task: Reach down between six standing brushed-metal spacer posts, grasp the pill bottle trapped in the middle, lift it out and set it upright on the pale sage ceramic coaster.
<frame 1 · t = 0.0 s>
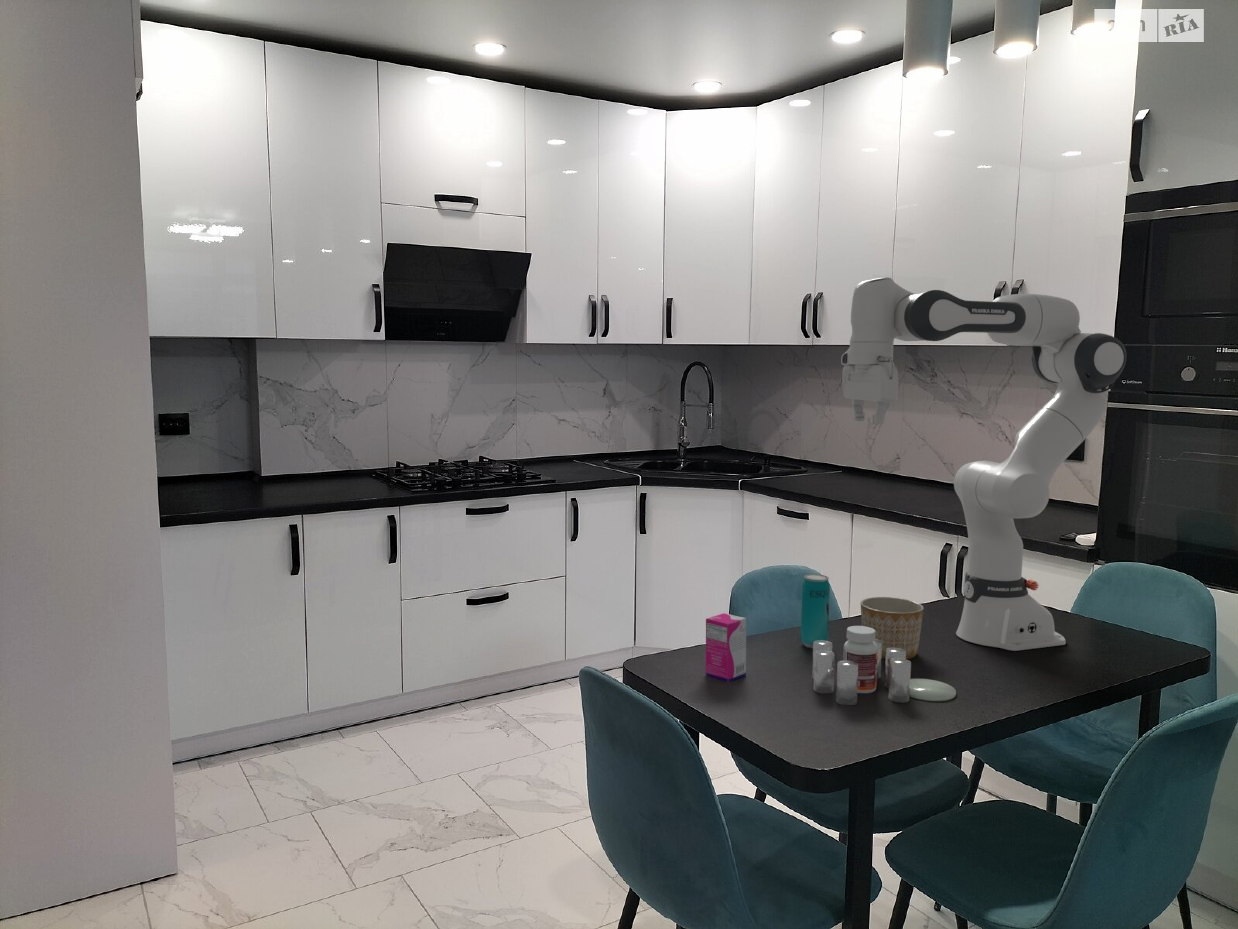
hand: (868, 422, 191), 48 cm above the table, fingers open, 8 cm apart
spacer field: (859, 688, 169), on the table
beverage can: (813, 646, 195), on the table
planter: (889, 654, 190), on the table
supplement box: (725, 676, 175), on the table
pill bottle: (859, 689, 169), on the table
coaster: (927, 691, 168), on the table
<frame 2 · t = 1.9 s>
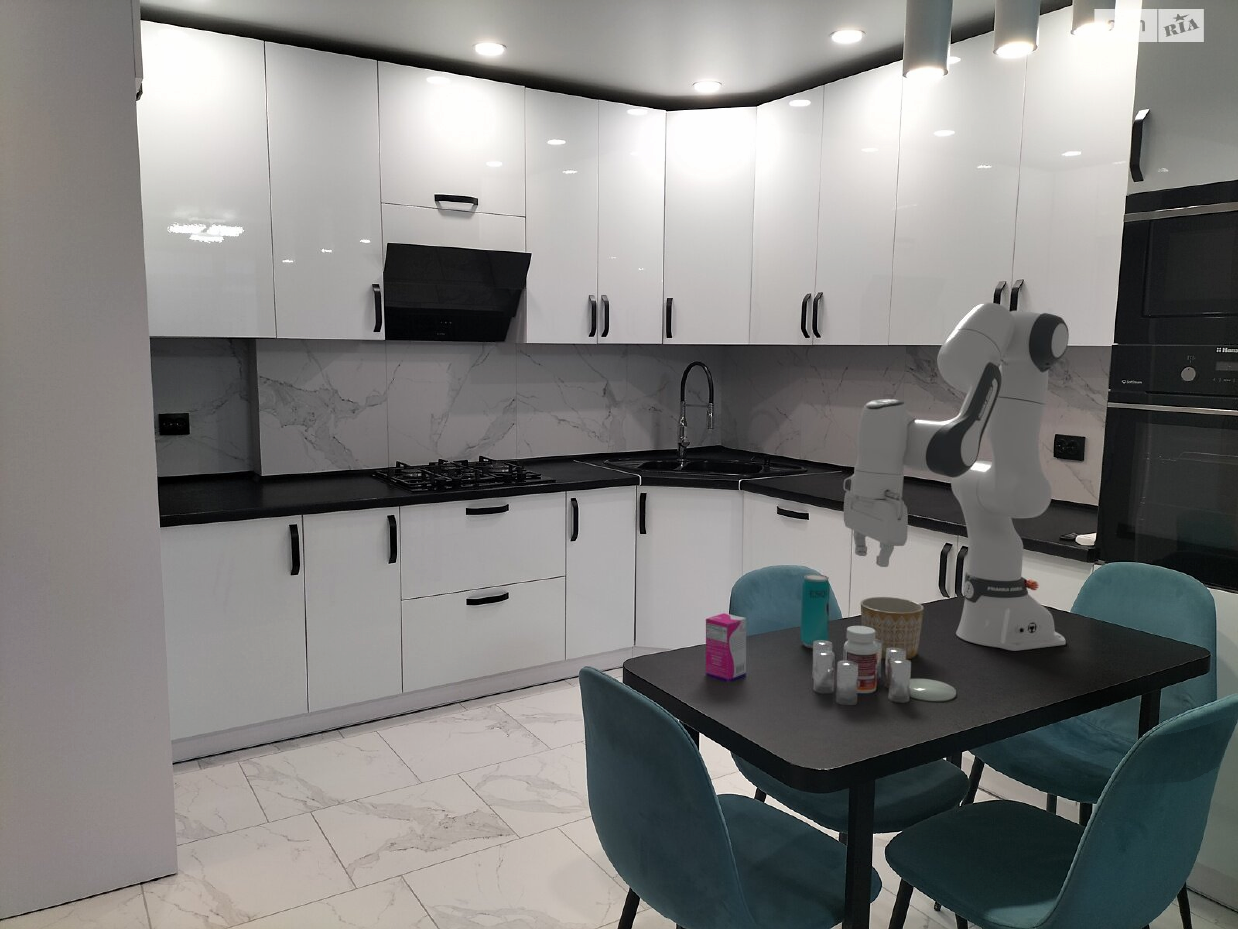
hand: (871, 560, 168), 24 cm above the table, fingers open, 8 cm apart
nothing on the table moved.
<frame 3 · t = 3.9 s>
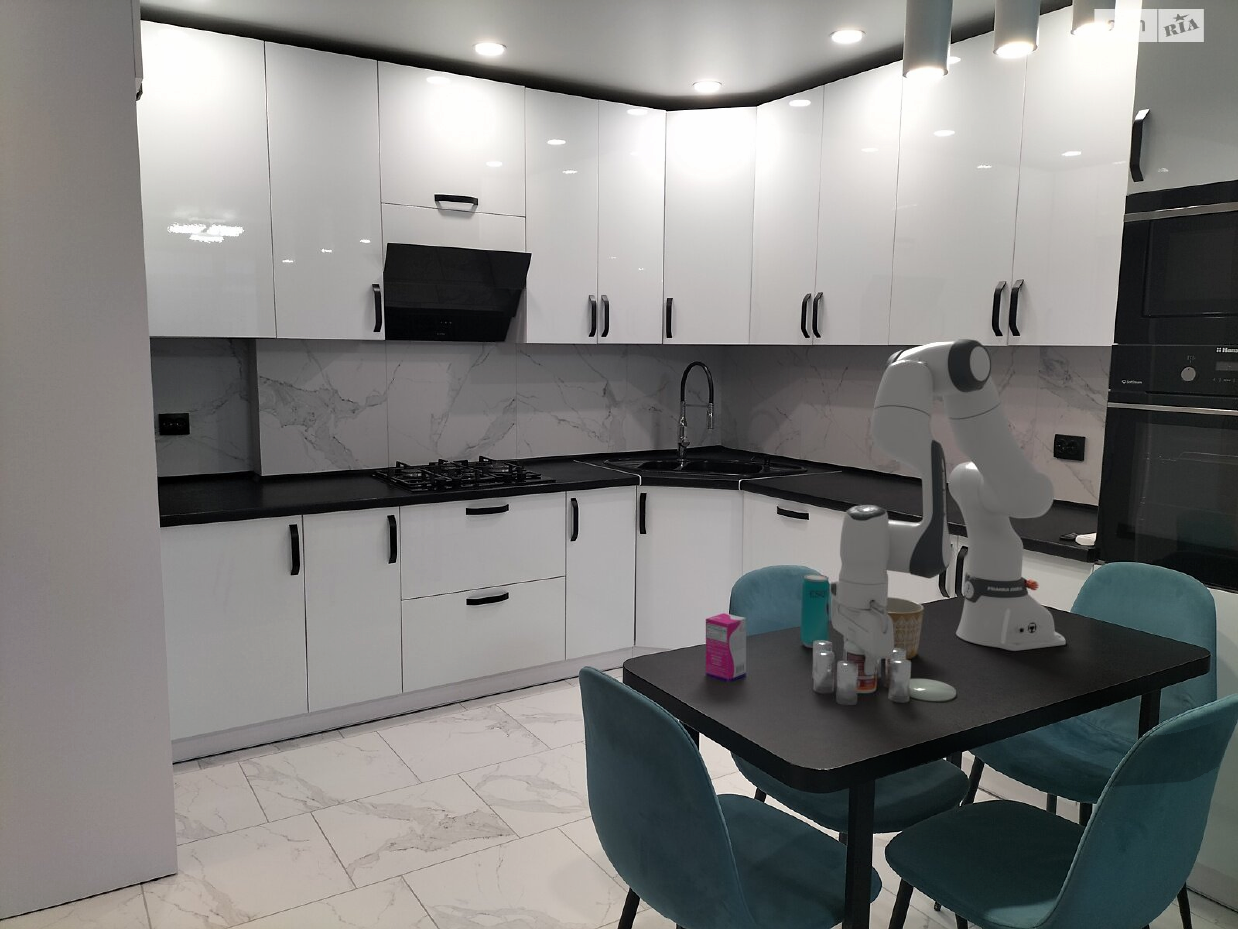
hand: (859, 666, 168), 4 cm above the table, fingers closed on pill bottle, 6 cm apart
pill bottle: (859, 689, 169), on the table, touching gripper
everything else where it was.
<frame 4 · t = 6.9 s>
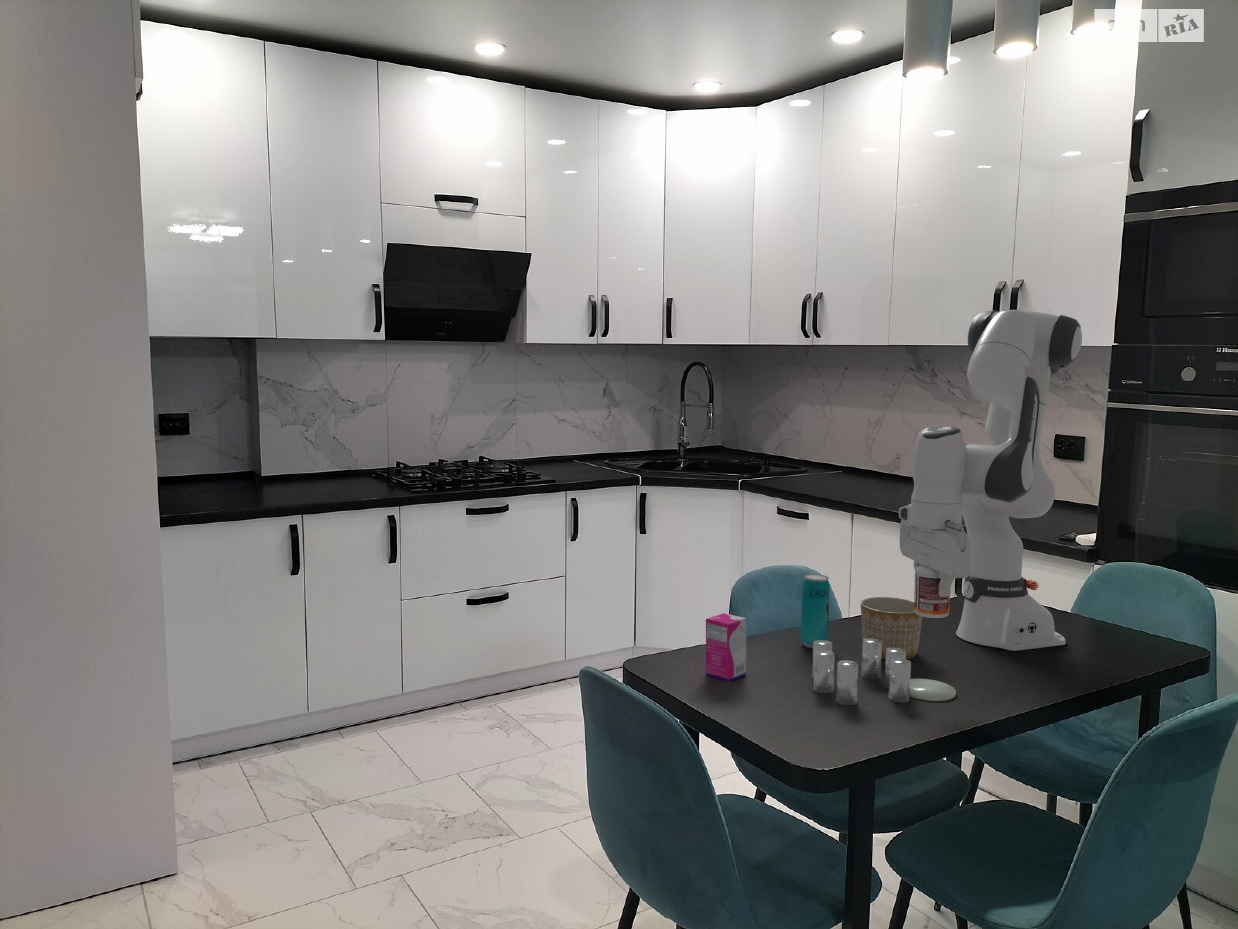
hand: (932, 590, 166), 19 cm above the table, fingers closed on pill bottle, 6 cm apart
pill bottle: (931, 615, 166), point 14 cm above the table, touching gripper
everything else where it was.
when the fingers open (6 cm above the table, at t = 9.7 s): pill bottle moves 1 cm, resting on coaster.
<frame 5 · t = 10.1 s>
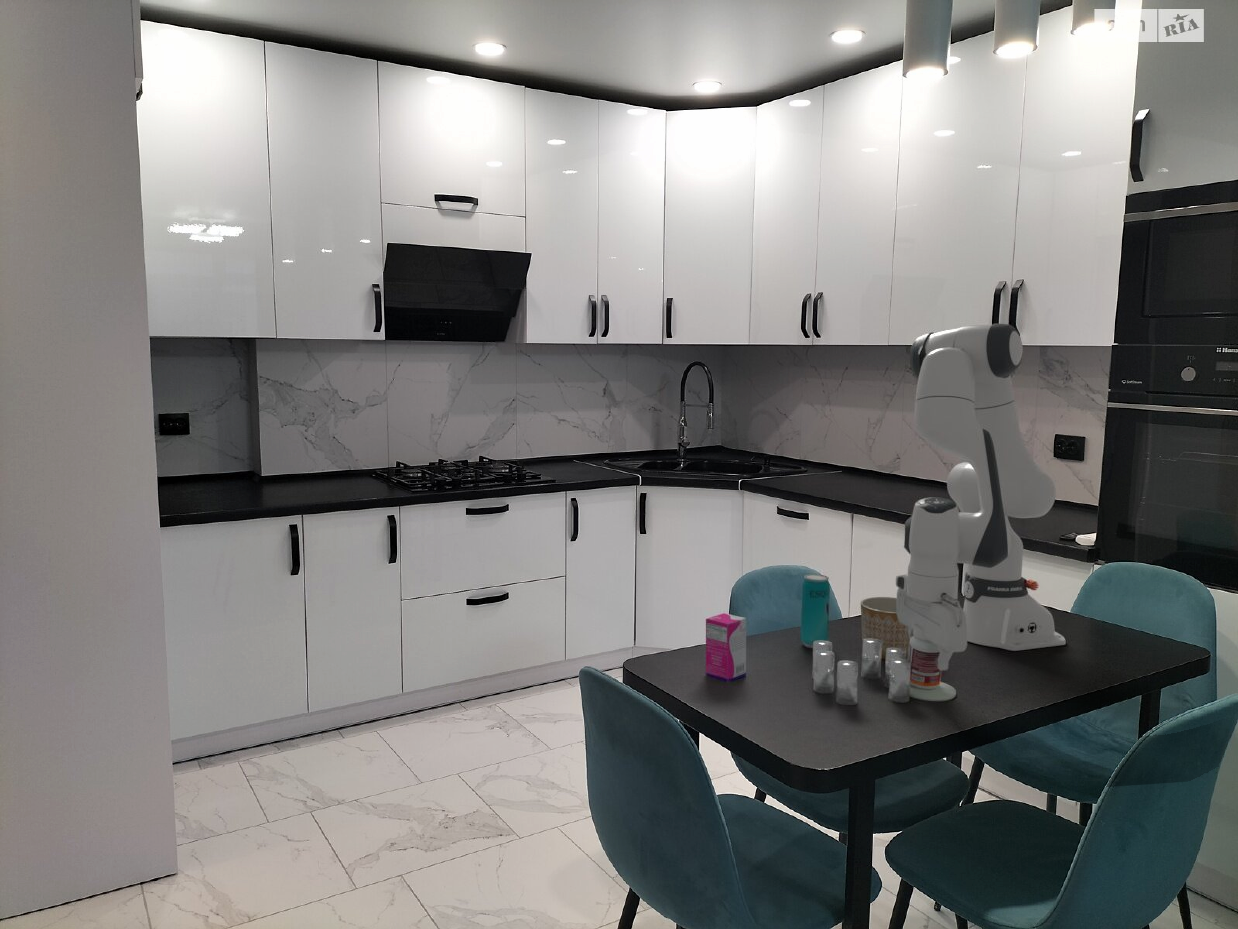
hand: (928, 660, 167), 6 cm above the table, fingers open, 8 cm apart
pill bottle: (922, 683, 169), point 1 cm above the table, touching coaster, gripper
everything else where it was.
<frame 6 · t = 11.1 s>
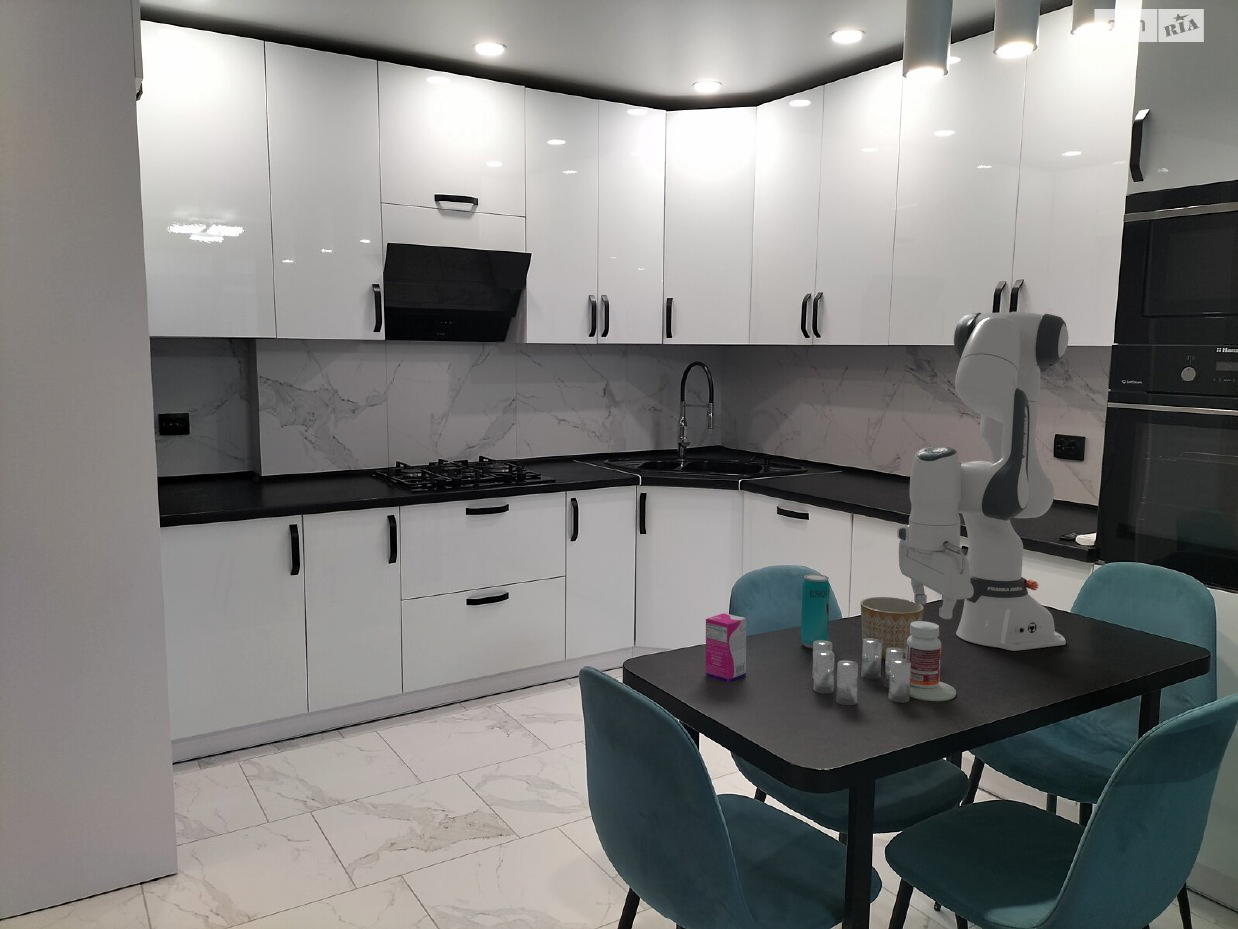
hand: (932, 610, 166), 15 cm above the table, fingers open, 8 cm apart
pill bottle: (921, 684, 170), resting on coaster
everything else where it was.
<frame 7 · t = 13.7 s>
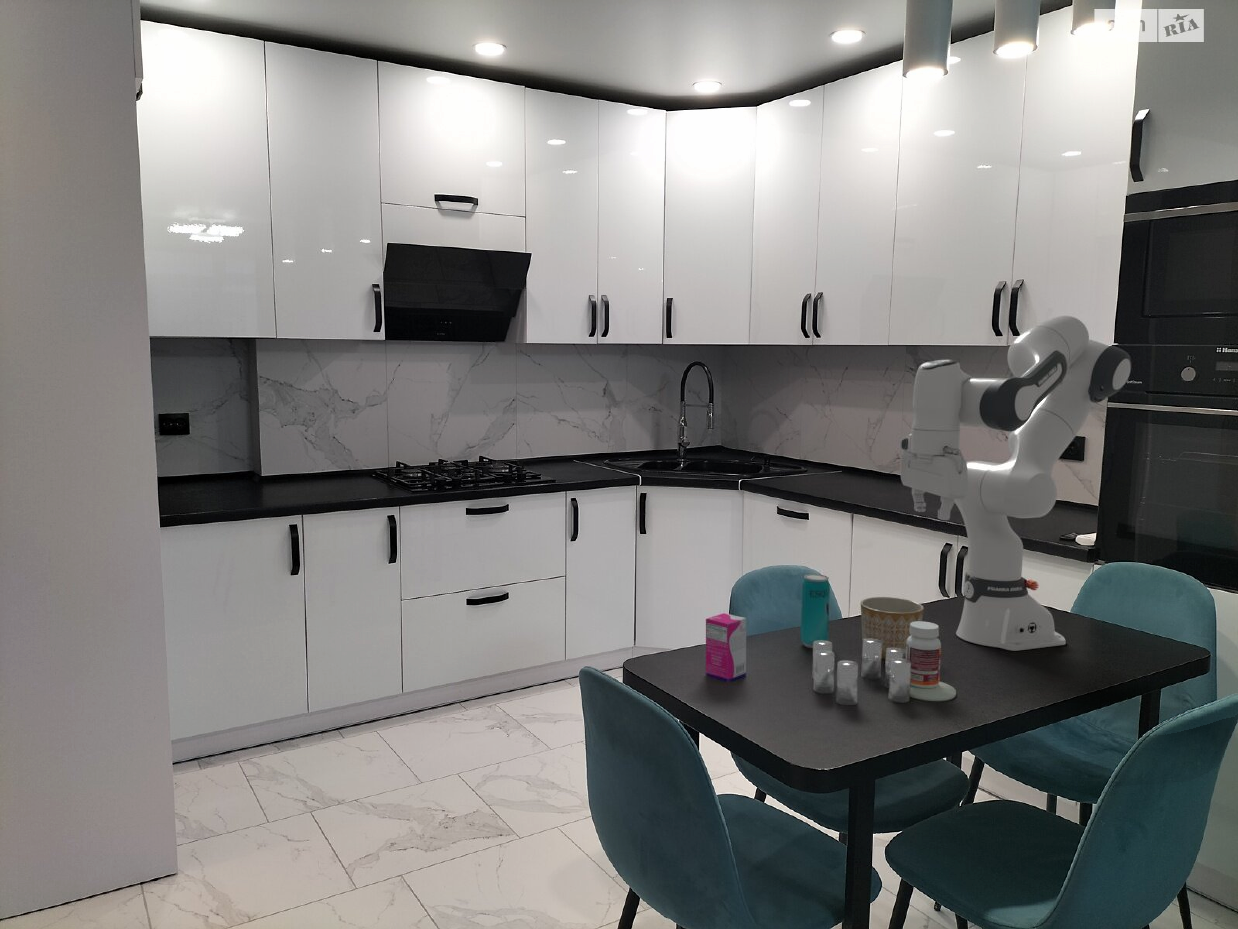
hand: (931, 515, 176), 31 cm above the table, fingers open, 8 cm apart
nothing on the table moved.
at the end: pill bottle inside the target area on the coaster (2.3 cm from its centre), point 0.4 cm above the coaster's base; pill bottle tilted 0°; the gripper is holding nothing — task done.
